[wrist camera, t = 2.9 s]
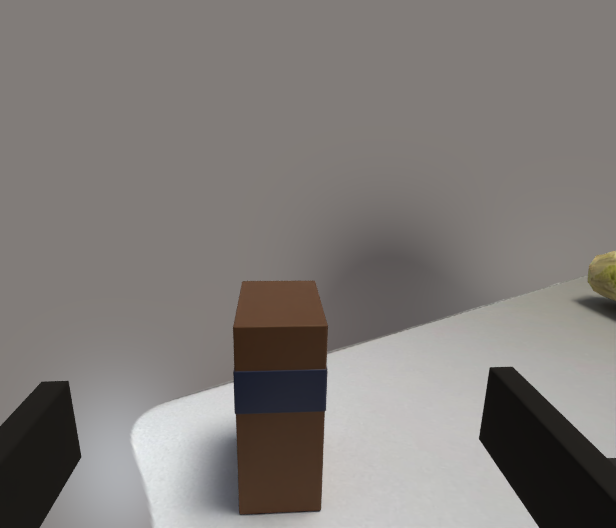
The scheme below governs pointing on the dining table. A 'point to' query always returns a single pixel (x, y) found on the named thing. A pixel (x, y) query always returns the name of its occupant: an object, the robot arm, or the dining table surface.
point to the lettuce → (603, 275)
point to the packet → (280, 395)
